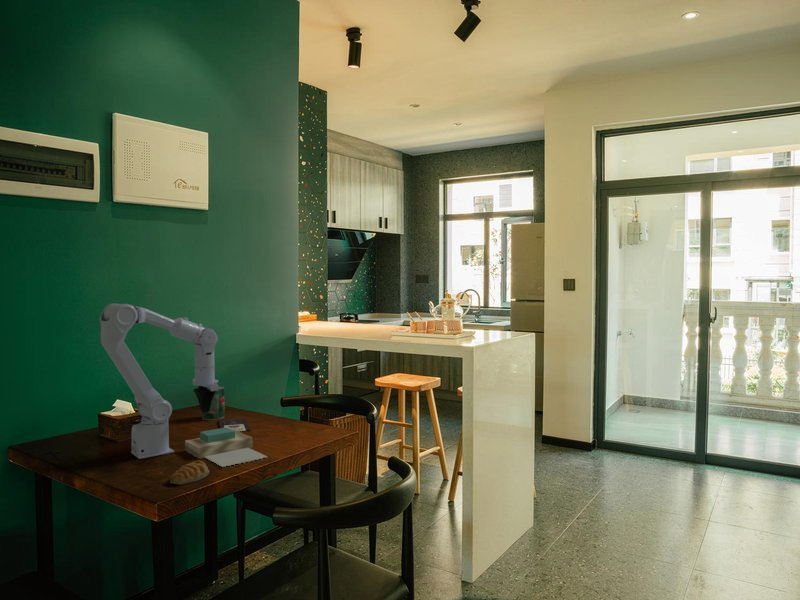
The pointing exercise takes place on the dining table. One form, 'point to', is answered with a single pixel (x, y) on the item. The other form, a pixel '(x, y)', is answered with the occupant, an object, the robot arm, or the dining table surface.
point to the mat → (235, 457)
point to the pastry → (189, 473)
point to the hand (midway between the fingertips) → (205, 411)
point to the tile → (217, 435)
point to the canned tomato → (216, 406)
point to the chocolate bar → (234, 424)
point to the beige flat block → (218, 445)
